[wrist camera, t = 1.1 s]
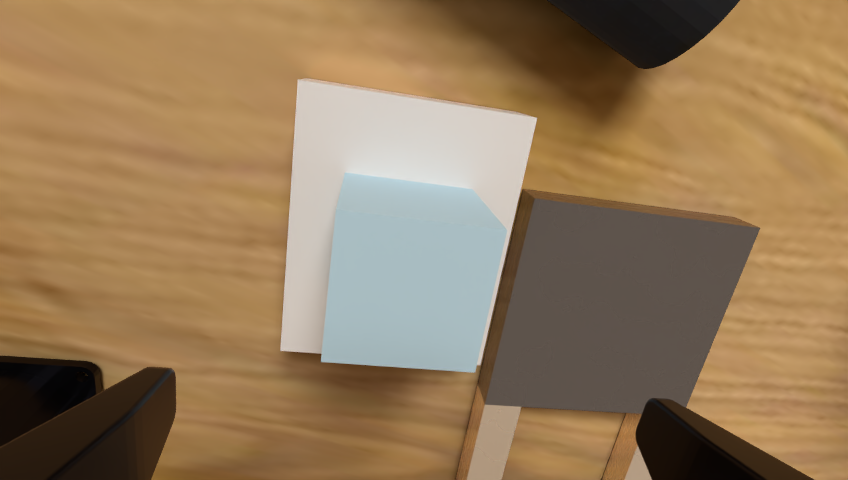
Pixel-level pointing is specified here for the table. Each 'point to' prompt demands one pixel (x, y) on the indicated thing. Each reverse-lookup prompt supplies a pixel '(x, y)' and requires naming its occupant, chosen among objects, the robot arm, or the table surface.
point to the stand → (386, 175)
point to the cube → (410, 275)
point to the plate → (601, 318)
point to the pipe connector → (648, 25)
